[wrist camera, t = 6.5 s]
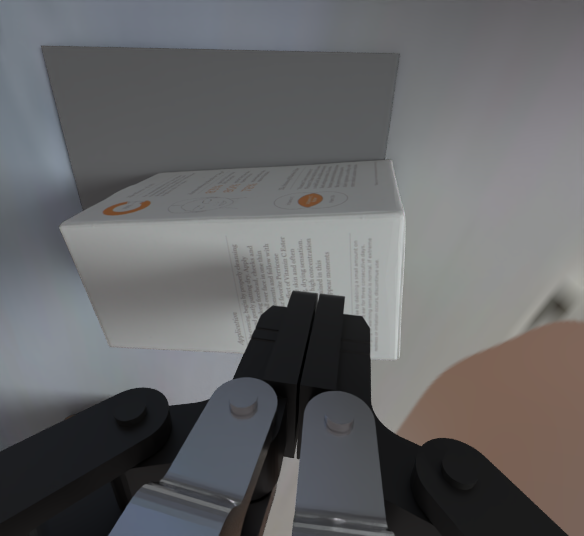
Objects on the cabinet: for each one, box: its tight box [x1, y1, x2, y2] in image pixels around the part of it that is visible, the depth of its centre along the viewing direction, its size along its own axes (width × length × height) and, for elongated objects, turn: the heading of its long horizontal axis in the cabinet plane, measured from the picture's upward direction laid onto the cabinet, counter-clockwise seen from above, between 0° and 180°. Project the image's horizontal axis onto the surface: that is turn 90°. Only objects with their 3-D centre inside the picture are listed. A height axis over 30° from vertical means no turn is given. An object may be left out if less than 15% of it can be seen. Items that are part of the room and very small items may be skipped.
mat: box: [41, 46, 400, 211], centre depth 21 cm, size 18×14×1 cm
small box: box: [59, 159, 406, 361], centre depth 18 cm, size 8×6×13 cm
